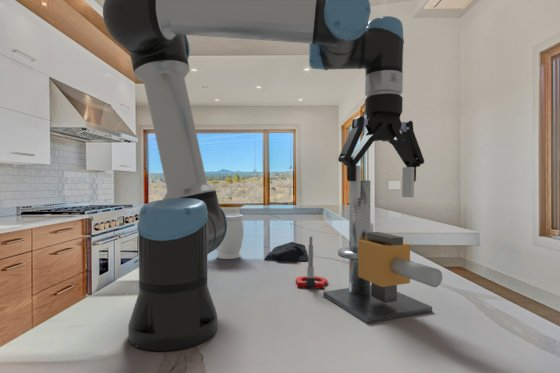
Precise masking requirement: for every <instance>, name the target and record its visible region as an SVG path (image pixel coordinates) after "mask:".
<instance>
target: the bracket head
mask: <svg viewBox="0 0 560 373" xmlns="http://www.w3.org/2000/svg"><path fill="white" fill-rule="evenodd" d="M358 277H360V278H363V279H365V280H367V281H369V282H370V283H371V282H372V283H374V284H376V285H378V286H381V287H386V286H393V285H397V286H398V285H399V286H400V285H407V284H411V280H412V281H416V282H418V283H422V285H426V286H429V287H432V288H437V287H439V286H440V285H441V283H443V282H442V281H443V273H442V270H440V269H438V268H436V267H432V266H428V265H425V264H422V263H419V262H415V261H411V243H406V242H403V245H393V246H390V245H382V244H378V243H375V242H372V241H371V240H367V239H365V240H358Z"/></svg>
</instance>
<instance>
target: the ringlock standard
mask: <svg viewBox="0 0 560 373" xmlns="http://www.w3.org/2000/svg"><path fill="white" fill-rule="evenodd" d="M348 182H349V186H348V187H349V190H348V191H349V195H348V199H349V202H348V203H349V204H348V206H349V207H348V208H349V210H348V212H349V213H348V216H349V217H348V218H349V222H348V223H349V224H348V226H349V228H348V235H349V236H348V237H349V241H348V242H349V245H348V246H345V247H341V248H340V247H339V249H338V250H337V256H339V257H340V258H343V259H348V260H349V261H348V266H349V267H348V270H349V271H348V274H349V275H348V288H341V289H333V290H325V291H323V292H322V294H323V297H325V298H326V299H328V300H329V301H331V302H332V303H333V304H335V303H336V304H335V305H337V306H338V307H340V308H342V309H343V308H344V309H343V310H345V311H346V310H347V311H346V312H348V313H349V314H351V315H353V316H354V317H356V318H357V319H359V320H361V321H362V322H364V323H365V324H372V323H377V322H383V321H389V320H393V319H394V320H395V319H399V318H405V317H406V318H407V317H411V316H416V315H421V314H427V313H433V306H432V305H429V304H426V303H425V302H421V301H420V300H417V299H415V298H412V297H410V296H408V295H406V294H405V293H404V294H403V293H401V292H399V291H397V301H393V302H387V303H384V302H382V301H380V300H378V299H376V298H374V297H372V296H371V282H369V281H367V280H365V279H363V278H360V277H358V240H365V239H367V233H369V232H370V223H371V179H370V180H364V179H363V180H362V179H361V193H360V198H350V181H348Z"/></svg>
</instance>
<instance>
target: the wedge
mask: <svg viewBox="0 0 560 373" xmlns="http://www.w3.org/2000/svg"><path fill="white" fill-rule="evenodd" d="M367 240H371V241H372V242H375V243H378V244H382V245H390V246H393V245H403V243H404V237H403V236H400V235H395V234H394V235H393V234H390V233H384V232H381V231H373V232H369V233H367ZM370 285H371V296H372V297H374V298H376V299H378V300H380V301H382V302H384V303H387V302H393V301H397V292H398V285H393V286H386V287H381V286H378V285H376V284H374V283H372V282H370Z"/></svg>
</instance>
